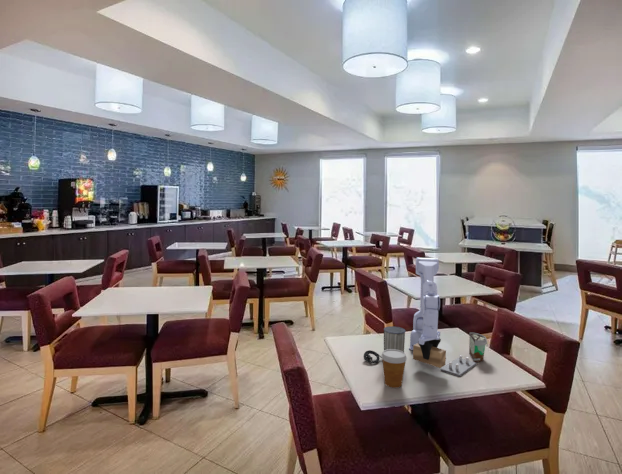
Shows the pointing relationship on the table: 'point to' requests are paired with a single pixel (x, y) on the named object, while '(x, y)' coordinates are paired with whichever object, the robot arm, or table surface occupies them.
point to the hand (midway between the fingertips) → (428, 357)
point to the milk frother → (389, 342)
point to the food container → (477, 346)
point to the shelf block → (435, 358)
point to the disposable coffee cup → (393, 367)
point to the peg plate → (458, 366)
